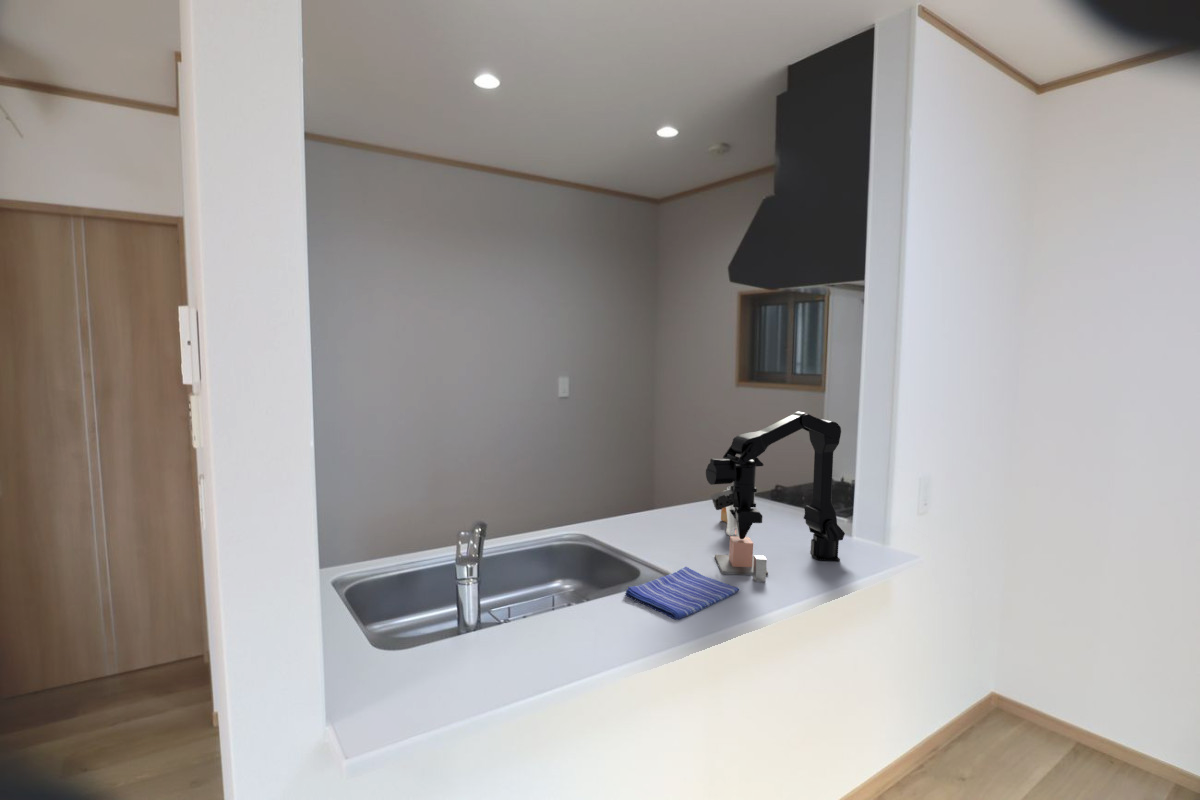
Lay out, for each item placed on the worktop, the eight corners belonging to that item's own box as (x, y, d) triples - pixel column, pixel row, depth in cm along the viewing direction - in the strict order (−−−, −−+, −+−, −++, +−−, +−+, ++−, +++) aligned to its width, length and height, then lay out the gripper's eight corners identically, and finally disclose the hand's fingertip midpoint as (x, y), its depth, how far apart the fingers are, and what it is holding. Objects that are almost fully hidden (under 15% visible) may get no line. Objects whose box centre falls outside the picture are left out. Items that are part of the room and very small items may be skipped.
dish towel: (622, 597, 140) (622, 586, 140) (685, 572, 156) (685, 562, 156) (677, 624, 128) (677, 612, 127) (739, 594, 144) (740, 583, 143)
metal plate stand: (757, 558, 166) (758, 537, 166) (767, 575, 154) (769, 552, 154) (714, 557, 166) (715, 535, 166) (722, 574, 155) (723, 550, 154)
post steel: (763, 577, 153) (764, 555, 152) (765, 582, 150) (766, 559, 149) (752, 577, 153) (754, 555, 152) (755, 581, 150) (756, 559, 149)
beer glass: (721, 535, 186) (723, 489, 184) (727, 529, 192) (729, 484, 190) (743, 539, 182) (745, 492, 181) (749, 533, 189) (751, 487, 187)
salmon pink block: (747, 559, 163) (748, 536, 162) (752, 567, 158) (753, 543, 157) (729, 559, 163) (730, 536, 162) (732, 566, 158) (733, 542, 157)
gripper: (708, 473, 168) (706, 526, 169) (720, 490, 149) (717, 549, 151) (748, 474, 167) (745, 528, 169) (764, 491, 149) (761, 551, 150)
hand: (741, 538), depth 160 cm, fingers closed
